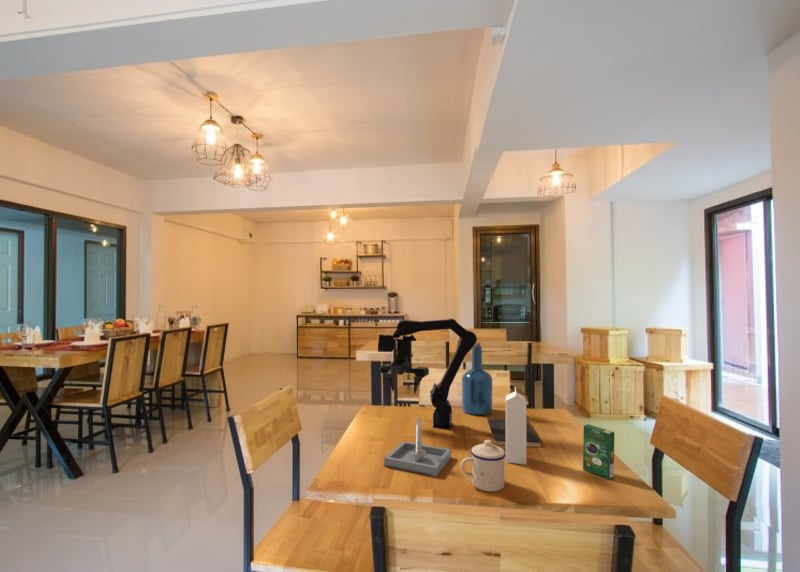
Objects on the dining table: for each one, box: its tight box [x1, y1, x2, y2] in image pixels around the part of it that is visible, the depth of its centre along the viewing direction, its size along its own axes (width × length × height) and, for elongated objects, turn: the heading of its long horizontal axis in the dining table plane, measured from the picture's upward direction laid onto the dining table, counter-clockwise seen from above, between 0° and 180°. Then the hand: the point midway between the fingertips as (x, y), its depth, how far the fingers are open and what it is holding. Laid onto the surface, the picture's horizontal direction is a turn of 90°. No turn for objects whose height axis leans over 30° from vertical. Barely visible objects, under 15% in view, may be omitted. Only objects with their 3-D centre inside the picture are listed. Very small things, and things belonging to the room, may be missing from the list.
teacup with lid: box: [460, 439, 506, 493], centre depth 106 cm, size 12×9×12 cm
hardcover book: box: [486, 417, 543, 448], centre depth 144 cm, size 16×23×2 cm
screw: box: [411, 416, 427, 461], centre depth 120 cm, size 13×5×5 cm
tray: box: [383, 440, 452, 478], centre depth 120 cm, size 16×14×2 cm
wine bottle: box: [461, 342, 494, 416], centre depth 171 cm, size 14×13×30 cm
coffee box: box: [582, 423, 616, 481], centre depth 112 cm, size 8×3×13 cm, turn 35°
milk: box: [505, 386, 527, 466], centre depth 122 cm, size 6×6×22 cm
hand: (404, 392), depth 152 cm, fingers open, 9 cm apart
